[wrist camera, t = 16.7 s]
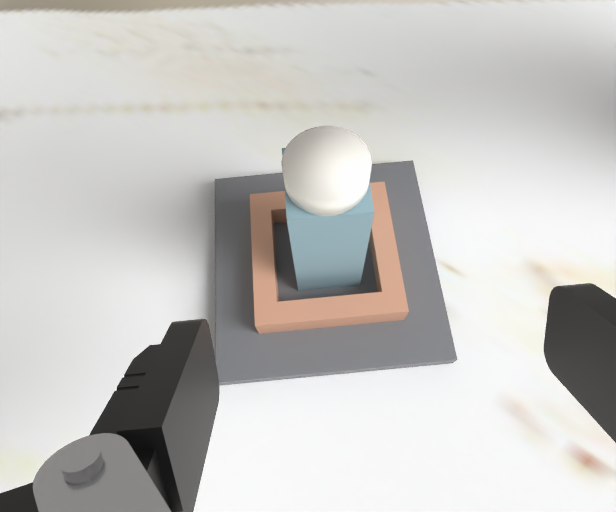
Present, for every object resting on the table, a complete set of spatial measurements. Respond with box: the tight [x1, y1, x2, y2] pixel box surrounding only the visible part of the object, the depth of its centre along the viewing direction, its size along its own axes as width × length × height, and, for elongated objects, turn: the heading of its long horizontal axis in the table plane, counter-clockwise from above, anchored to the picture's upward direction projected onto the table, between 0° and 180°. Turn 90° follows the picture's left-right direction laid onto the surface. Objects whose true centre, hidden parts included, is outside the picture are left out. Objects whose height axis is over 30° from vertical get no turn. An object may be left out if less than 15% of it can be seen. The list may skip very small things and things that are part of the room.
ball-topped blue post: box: [282, 126, 374, 291], centre depth 27 cm, size 4×4×12 cm
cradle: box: [215, 161, 457, 385], centre depth 33 cm, size 16×16×3 cm
